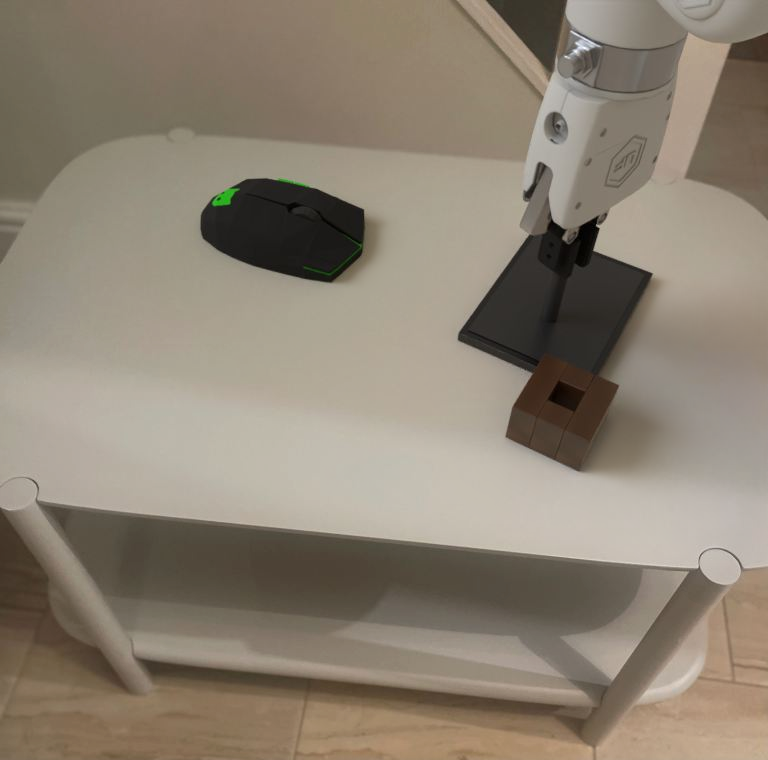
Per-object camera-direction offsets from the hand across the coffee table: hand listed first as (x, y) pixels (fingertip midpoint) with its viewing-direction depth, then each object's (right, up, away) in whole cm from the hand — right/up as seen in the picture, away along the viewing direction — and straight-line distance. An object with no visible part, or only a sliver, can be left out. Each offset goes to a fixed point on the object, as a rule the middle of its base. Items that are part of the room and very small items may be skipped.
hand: (562, 261), depth 64 cm
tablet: (+1, -3, +7) cm, 8 cm away
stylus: (0, -4, +5) cm, 6 cm away
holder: (-1, -13, -1) cm, 13 cm away
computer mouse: (-24, +5, +13) cm, 28 cm away
